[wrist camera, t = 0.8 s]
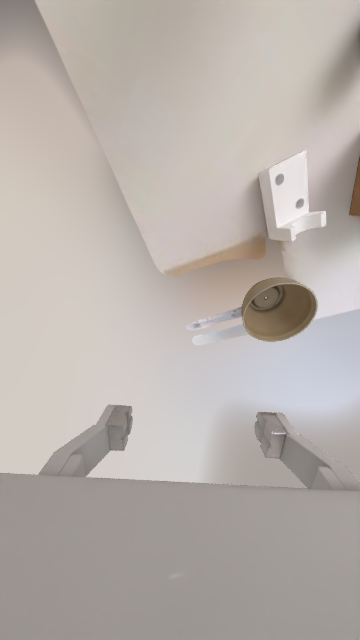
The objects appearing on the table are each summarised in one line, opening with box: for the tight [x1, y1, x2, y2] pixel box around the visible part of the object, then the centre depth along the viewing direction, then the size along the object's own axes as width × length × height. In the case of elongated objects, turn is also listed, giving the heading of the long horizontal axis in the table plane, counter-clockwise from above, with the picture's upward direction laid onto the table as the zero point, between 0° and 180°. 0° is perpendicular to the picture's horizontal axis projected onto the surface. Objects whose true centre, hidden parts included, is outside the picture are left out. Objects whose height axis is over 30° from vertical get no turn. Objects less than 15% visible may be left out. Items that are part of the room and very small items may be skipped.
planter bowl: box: [242, 278, 318, 342], centre depth 46 cm, size 16×16×11 cm
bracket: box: [258, 150, 326, 242], centre depth 35 cm, size 13×7×8 cm, turn 24°
